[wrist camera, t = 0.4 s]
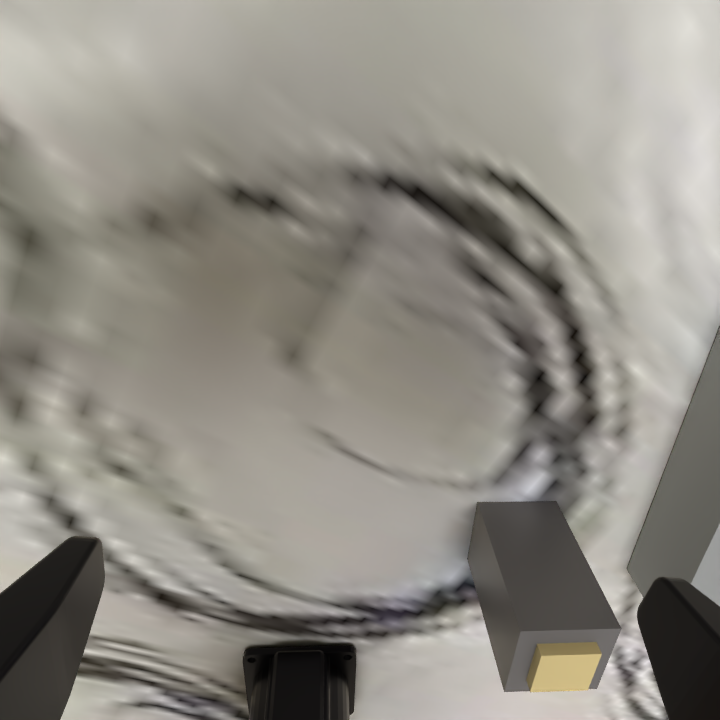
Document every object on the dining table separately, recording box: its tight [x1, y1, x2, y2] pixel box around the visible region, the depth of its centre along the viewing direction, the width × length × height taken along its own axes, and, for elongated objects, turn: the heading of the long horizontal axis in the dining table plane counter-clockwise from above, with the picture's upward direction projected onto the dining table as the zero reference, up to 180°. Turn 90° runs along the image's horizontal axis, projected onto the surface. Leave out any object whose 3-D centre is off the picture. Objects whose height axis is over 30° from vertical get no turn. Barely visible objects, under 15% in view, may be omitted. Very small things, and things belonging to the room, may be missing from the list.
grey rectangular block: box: [467, 501, 621, 692], centre depth 25 cm, size 4×4×8 cm
